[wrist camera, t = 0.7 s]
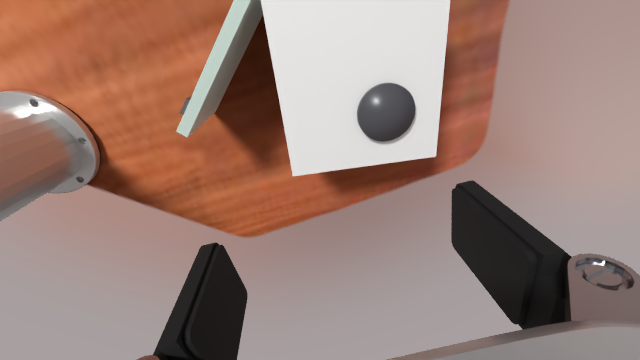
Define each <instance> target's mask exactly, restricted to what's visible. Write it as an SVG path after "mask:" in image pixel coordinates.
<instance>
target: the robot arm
mask: <svg viewBox="0 0 640 360" xmlns="http://www.w3.org/2000/svg"><path fill="white" fill-rule="evenodd" d="M99 164H100V153H99V150H98V146H97V143H96V141H95V139H94V137H93V135H92V134H91V132H90V131H89V129H88V128H87V126H86V125H85V124H84V123H83V122H82V121H81V120H80V119H79V118H78V117H77V116H76V115H75V114H74V113H72V112H71V111H70V110H69V109H68V108H66V107H64V106H63V105H61V104H59V103H58V102H56V101H54V100H52V99H50V98H48V97H45V96H43V95H39V94H36V93H33V92H27V91H20V90H14V91H3V92H0V221H2V220H3V219H5V218H6V217H8V216H10V215H11V214H13V213H15V212H16V211H18V210H19V209H21V208H23V207H24V206H26V205H28V204H29V203H31V202H33V201H34V200H36V199H38V198H39V197H41V196H42V195H44V194H46V193H47V192H48V193H66V192H71V191H75V190H77V189H79V188H81V187H83V186H85V185H86V184H87V183H89V182H90V181H91V180H92V179H93V178H94V177H95V175H96V173H97V171H98V169H99ZM452 244H453V247H454V249H455V250H456V251H457V253H458V254H459V255H460V256H461V258H462V259H463V260H464V261H465V263H466V264H467V265H468V267H469V268H470V269H471V271H472V272H473V273H474V274H475V276H476V277H477V278H478V280H479V281H480V282H481V283H482V285H483V286H484V287H485V288H486V290H487V291H488V292H489V294H490V295H491V296H492V298H493V299H494V300H495V301H496V303H497V304H498V305H499V307H500V308H501V309H502V310H503V312H504V313H505V314H506V316H507V317H508V318H509V319H510V320H511V322H512V323H514V324H519V326H520V327H521V328H522V329H523V330H519V331H514V332H509V333H504V334H499V335H495V336H490V337H486V338H481V339H477V340H472V341H468V342H463V343H459V344H454V345H450V346H445V347H441V348H437V349H432V350H428V351H423V352H418V353H414V354H410V355H405V356H401V357H396V358H392V359H388V360H640V276H639V275H638V274H637V273H636V272H635V271H634V270H633V269H632V268H630V267H628V266H627V265H625V264H624V263H622V262H620V261H617V260H615V259H612V258H610V257H606V256H602V255H597V254H579V255H576V256H573V257H571V256H570V255H568V254H567V253H566V252H565V251H564V250H563V249H561V248H560V247H559V246H557V245H556V244H555V243H554V242H552V241H551V240H550V239H548V238H547V237H546V236H544V235H543V234H542V233H541V232H539V231H538V230H537V229H535V228H534V227H533V226H532V225H530V224H529V223H528V222H526V221H525V220H524V219H522V218H521V217H520V216H519V215H517V214H516V213H514V212H513V211H512V210H511V209H510V208H508V207H507V206H505V205H504V204H503V203H502V202H501V201H499V200H498V199H497V198H495V197H494V196H493V195H491V194H490V193H489V192H487V191H486V190H485V189H484V188H482V187H481V186H480V185H479V184H477V183H476V182H475V181H467V182H463V183H459V184H457V185H456V188H455V189H453V190H452ZM246 303H247V291H246V288H245V286H244V284H243V282H242V281H241V279H240V277H239V275H238V273H237V271H236V269H235V267H234V265H233V263H232V261H231V259H230V257H229V255H228V254H227V252H226V250H225V248H224V246H223V245H219V244H218V243H212V244H208V245H203V246H201V248H200V249H199V252H198V254H197V256H196V258H195V261H194V263H193V265H192V268H191V270H190V272H189V274H188V277H187V279H186V281H185V284H184V286H183V288H182V290H181V293H180V295H179V297H178V299H177V302H176V304H175V306H174V308H173V311H172V313H171V315H170V317H169V320H168V322H167V324H166V326H165V329H164V331H163V333H162V335H161V338H160V340H159V342H158V345H157V347H156V349H155V352H154V354H153V355H148V356H144V357H141V358H139V359H137V360H237V355H238V349H239V343H240V337H241V332H242V326H243V320H244V314H245V309H246Z"/></svg>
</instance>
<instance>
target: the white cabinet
mask: <svg viewBox="0 0 640 360" xmlns="http://www.w3.org/2000/svg"><path fill="white" fill-rule="evenodd" d="M261 5H262V10H263V15H264V21H265V26H266V32H267V37H268V43H269V48H270V54H271V59H272V64H273V70H274V75H275V81H276V86H277V92H278V97H279V103H280V108H281V113H282V119H283V124H284V130H285V135H286V141H287V146H288V152H289V157H290V162H291V168H292V173H293V176H299V175H306V174H313V173H320V172H328V171H335V170H342V169H350V168H357V167H364V166H372V165H379V164H386V163H393V162H401V161H408V160H415V159H423V158H430V157H436V151H437V140H438V129H439V118H440V107H441V96H442V85H443V74H444V63H445V52H446V41H447V31H448V20H449V9H450V0H261Z"/></svg>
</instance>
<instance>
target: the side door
mask: <svg viewBox="0 0 640 360" xmlns="http://www.w3.org/2000/svg"><path fill="white" fill-rule="evenodd" d="M262 16H263V10H262V5H261V0H234V1H233V4H232V6H231V8H230V10H229V13H228V15H227V17H226V19H225V22H224V24H223V26H222V29H221V31H220V33H219V35H218V38H217V40H216V42H215V44H214V47H213V49H212V51H211V54H210V56H209V58H208V60H207V63H206V65H205V67H204V69H203V72H202V74H201V76H200V79H199V81H198V83H197V85H196V88H195V90H194V92H193V94H192V96H191V97H189V98H187V99H186V101H185V103H184V105H183V108H182V110H181V112H180V113H181V114H183V117H182V119H181V122H180V124H179V126H178V129H177V131H176V132H178V133H180V134H182V135H184V136H186V137H188V136H189V135H191V134H192V133H193V132H194V131H195V130H196V129H197V128H198V127H200V126H201V125H202V124H203V123H204V122H205V121H206V120H208V119H209V118H210V117H211V116H212V115H213V114H214V113H215V112H216V110H217V108H218V106H219V104H220V102H221V100H222V98H223V96H224V94H225V92H226V90H227V88H228V86H229V83H230V81H231V79H232V77H233V75H234V73H235V71H236V69H237V67H238V65H239V63H240V61H241V59H242V57H243V55H244V53H245V51H246V49H247V47H248V44H249V42H250V40H251V38H252V36H253V34H254V32H255V30H256V28H257V26H258V24H259V22H260V20H261V18H262Z"/></svg>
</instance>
